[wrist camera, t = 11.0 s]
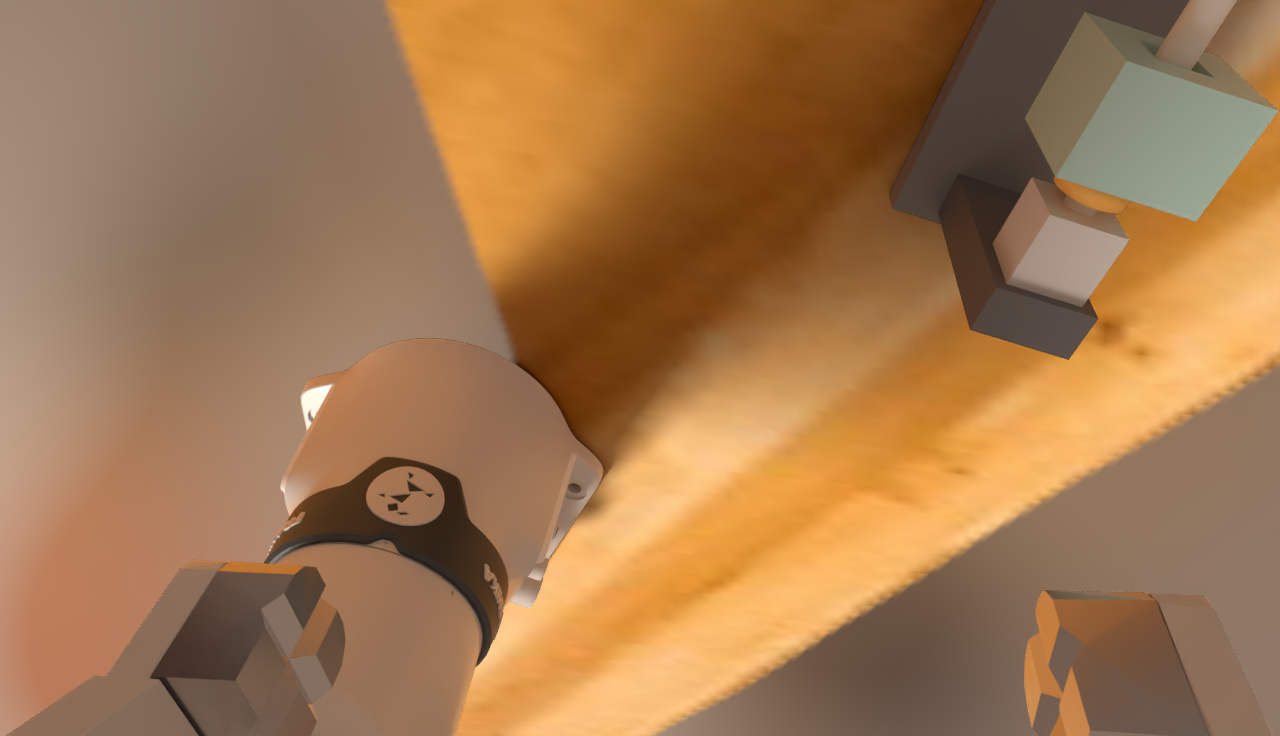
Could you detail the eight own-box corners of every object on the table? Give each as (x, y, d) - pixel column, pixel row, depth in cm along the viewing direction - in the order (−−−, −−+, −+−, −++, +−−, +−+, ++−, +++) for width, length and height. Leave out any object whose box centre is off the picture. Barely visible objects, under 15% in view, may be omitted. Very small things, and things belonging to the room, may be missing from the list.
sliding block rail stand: (1046, 242, 44) (1109, 384, 35) (889, 193, 43) (914, 325, 35) (1398, -308, 30) (1641, -298, 22) (1175, -388, 30) (1333, -411, 21)
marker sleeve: (1149, 158, 34) (1196, 221, 30) (1024, 118, 34) (1055, 177, 30) (1218, 55, 32) (1278, 110, 28) (1084, 11, 32) (1126, 61, 28)
